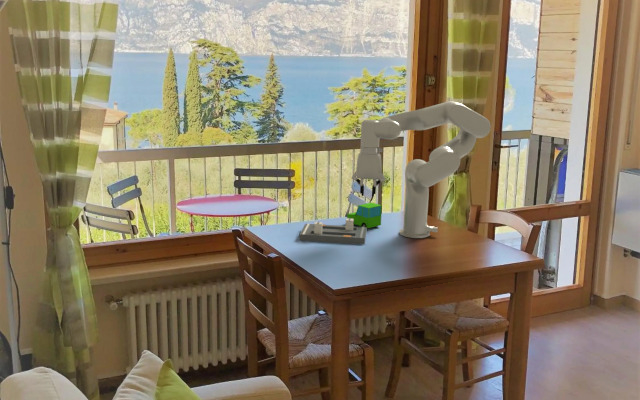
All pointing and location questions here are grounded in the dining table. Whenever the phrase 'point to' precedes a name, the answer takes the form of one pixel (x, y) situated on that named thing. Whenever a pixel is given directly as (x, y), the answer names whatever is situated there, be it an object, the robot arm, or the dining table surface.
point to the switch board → (334, 234)
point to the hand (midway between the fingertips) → (367, 195)
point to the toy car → (367, 215)
